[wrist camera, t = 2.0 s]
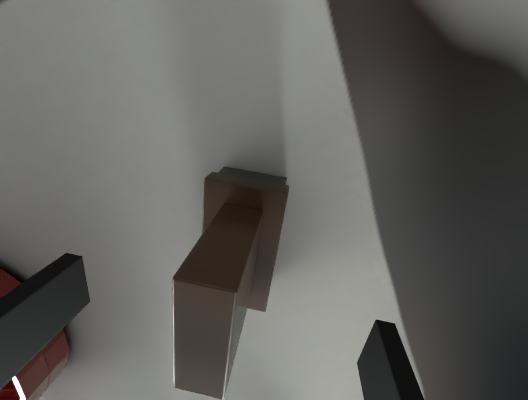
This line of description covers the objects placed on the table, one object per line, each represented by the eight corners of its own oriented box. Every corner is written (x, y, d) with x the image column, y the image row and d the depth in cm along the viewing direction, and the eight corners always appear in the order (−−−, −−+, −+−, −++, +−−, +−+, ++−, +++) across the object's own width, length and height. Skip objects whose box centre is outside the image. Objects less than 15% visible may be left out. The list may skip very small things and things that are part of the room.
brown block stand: (221, 162, 16) (136, 240, 8) (290, 174, 16) (277, 269, 8) (213, 268, 20) (149, 399, 11) (270, 280, 19) (246, 422, 11)
